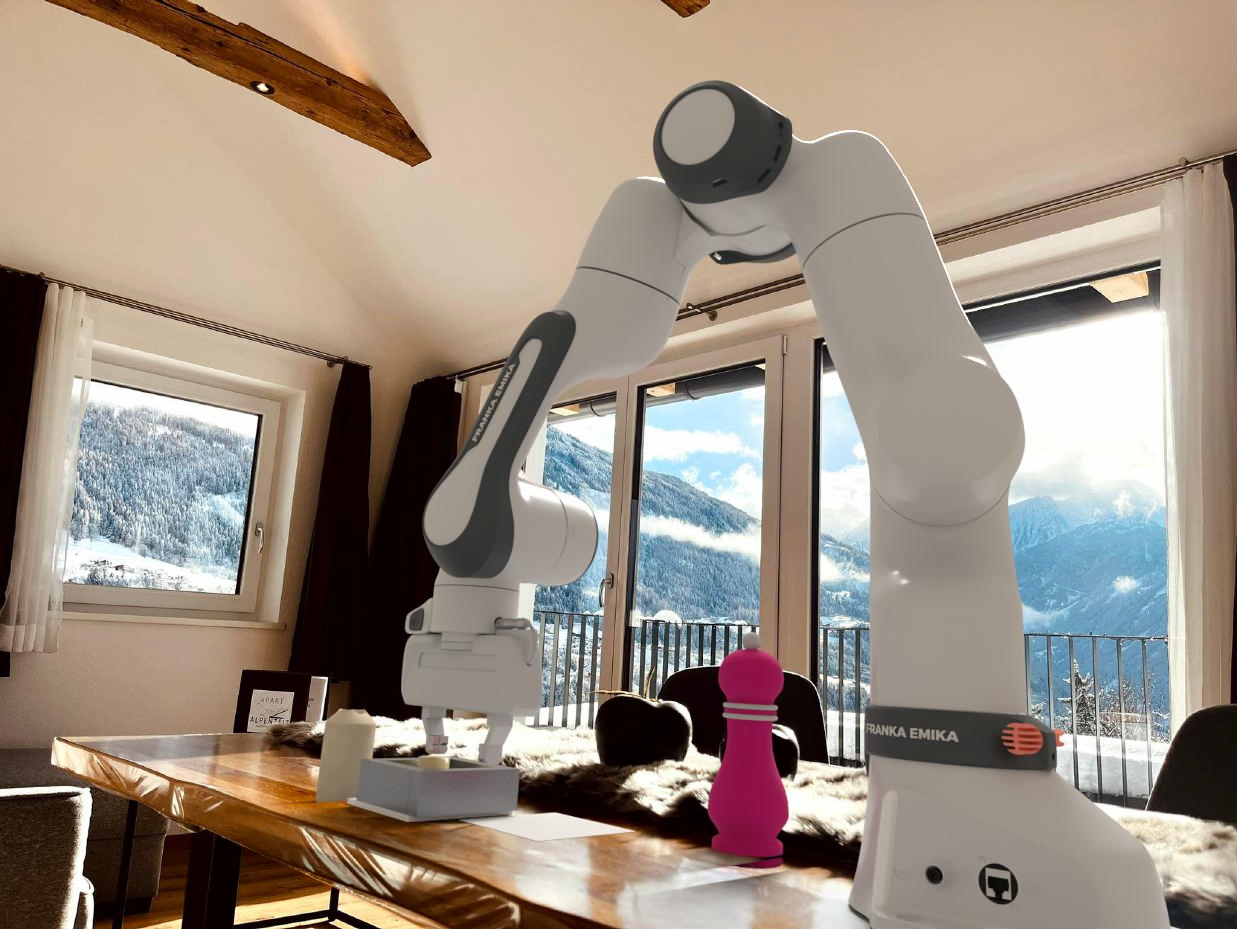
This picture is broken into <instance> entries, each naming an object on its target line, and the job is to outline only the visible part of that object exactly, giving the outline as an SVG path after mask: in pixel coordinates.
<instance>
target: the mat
mask: <svg viewBox="0 0 1237 929" xmlns="http://www.w3.org/2000/svg"><path fill="white" fill-rule="evenodd" d="M459 821H461V822H464V823H467V824H472V825H475V826H479V827H483V828H486V829H490V830H494V831H497V832H500V833H505V834H508V835H511V836H516V837H519V838H523V839H526V840H529V841H533V842H535V843H536V842H537V843H538V842H540V843H541V842H550V841H558V840H568V839H578V838H590V837H599V836H607V835H617V834H627V833H628V834H629V833H636V832H637V831H636V830H632V829H627V828H623V827H619V826H614V825H610V824H606V823H602V822H598V821H594V820H590V819H585V818H580V817H575V816H571V815H568V814H565V813H564V814H562V813H560V812H559V813H558V812H545V813H532V814H531V813H529V814H518V815H502V816H489V817H475V818H468V819H467V818H462V819H459Z"/></svg>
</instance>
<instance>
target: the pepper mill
mask: <svg viewBox="0 0 1237 929" xmlns="http://www.w3.org/2000/svg"><path fill="white" fill-rule="evenodd" d="M741 643H742V647H743V648H744V649H738V650H735V651H732V652H730V653H729V654H728V655H726V656H725V657H724V658H723V660H722V662H721V664H720V665H719V670H718V676H717V678H718V684H719V688H720V689H721V691H722V692H723V693H724V695H725V697H726V700H727V701H725V702H723V703H722V707H724V709H723V713H722V717H723V718H726V727H727V730H726V731H727V738H726V748H725V751H724V755H723V759H722V762H721V764H720V765H719V766H720V767H719V769H718V771H717V773H716V775H715V777H714V780H713V782H712V784H711V788H710V791H709V794H708V799H707V800H708V801H707V808H706V809H707V814H708V816H709V818H710V820H711V821H712V823H713V825H714V826H715V828H716V829H717V831H718V834H716V835H714V836H713V837H712V838H711V848H712V849H713V850H715V851H717V852H720V853H724V854H729V855H733V856H734V855H735V856H741V857H752V858H753V857H754V858H757V857H758V858H770V857H771V859H766V860H765V859H764V860H758V861H750V862H745V863H744V862H743V863H738V864H737V863H736V864H732V865H729V866H731V867H737V868H745V869H757V870H758V869H774V868H778V867H781V866H782V865H783V863H784V858H783V857H779V856H782V855H783V854H784V850H783V849H784V844H783V843H782V841H781V840H779V839H778V838H777V837H778V835H779V833H780V832H781V831H782V830H783V828H784V827H785V826H786V824H787V823H788V821H789V817H790V808H789V800H788V795H787V791H786V788H785V785H784V782H783V781H782V778H781V776H780V773H779V770H778V767H777V765H776V764H777V763H776V761H775V756H774V752H773V738H772V737H773V735H772V734H773V727H774V722H776V721H778V719H779V718H778V716H777V714H778V712H777V710H778V709H779V707H778V706H777V705H775V700H776V698H777V697H778V696H779V695H780V694H781V693H782V691H783V689H784V683H785V682H784V681H785V678H784V677H785V676H784V672H783V667H782V665H781V663H780V662H779V660H778V659H777V658H776V657H774V655H772V654H771V653H769V652H766V651H764V650H761V649H760V648H761V645H762V638H761V636H760V635H759V634H758V633H756V632H754V631H749V632H746V633H745V634H744V635H743V637H742V640H741ZM772 857H778V858H772Z"/></svg>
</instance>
